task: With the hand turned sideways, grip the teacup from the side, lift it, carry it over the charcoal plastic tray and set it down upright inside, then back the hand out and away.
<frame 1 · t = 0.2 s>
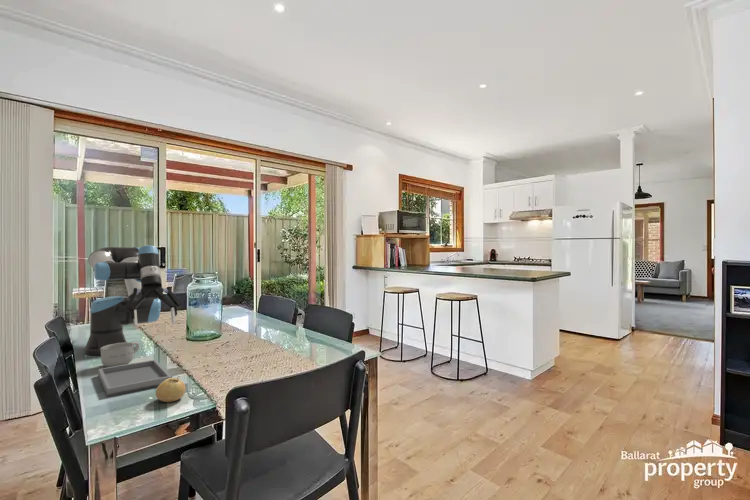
hand: (155, 324, 151), 15 cm above the table, tool tilted 35°, fingers open, 13 cm apart
onion: (170, 400, 114), on the table
tray: (134, 379, 130), on the table
teacup: (121, 365, 145), on the table
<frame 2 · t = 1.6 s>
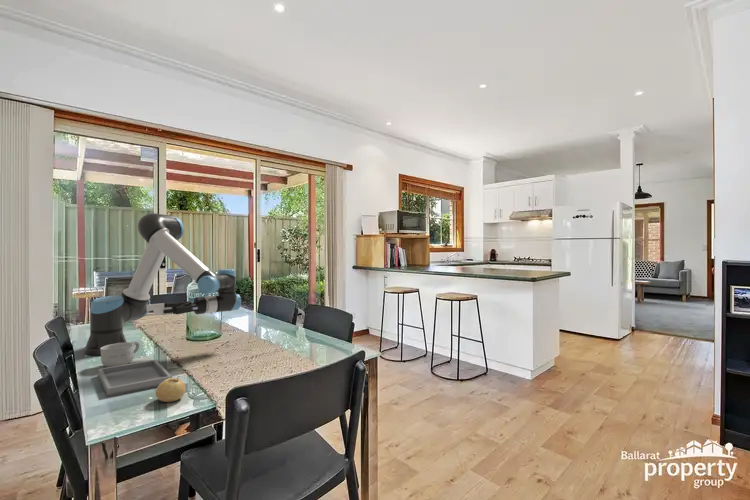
hand: (149, 310, 152), 20 cm above the table, tool horizontal, fingers open, 13 cm apart
nothing on the table moved.
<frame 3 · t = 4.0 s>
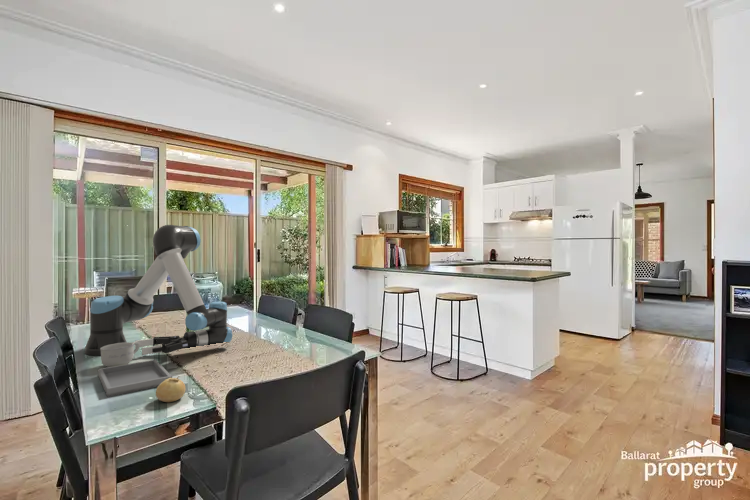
hand: (138, 347, 149), 6 cm above the table, tool horizontal, fingers open, 13 cm apart
nothing on the table moved.
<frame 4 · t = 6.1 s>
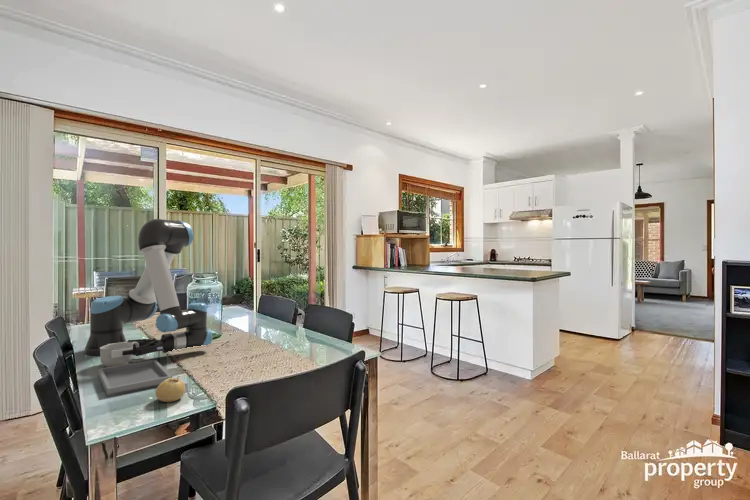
hand: (109, 351, 143), 6 cm above the table, tool horizontal, fingers closed on teacup, 11 cm apart
teacup: (121, 364, 146), on the table, touching gripper
everything else where it was.
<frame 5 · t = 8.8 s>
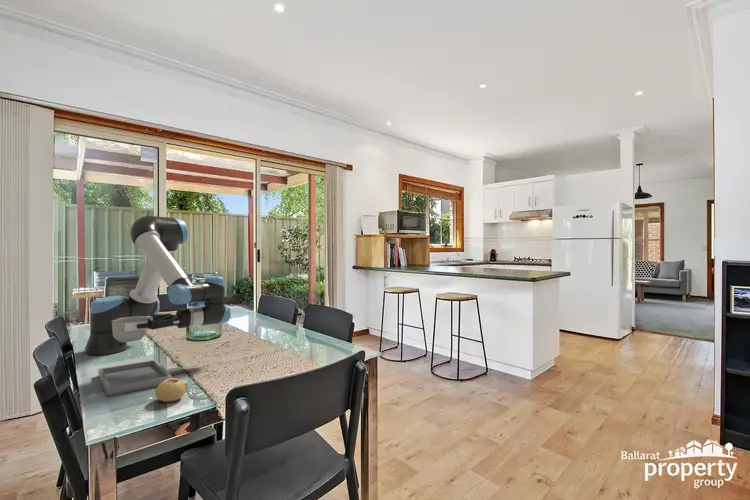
hand: (121, 324, 131), 19 cm above the table, tool horizontal, fingers closed on teacup, 11 cm apart
teacup: (134, 340, 134), point 13 cm above the table, touching gripper
everything else where it was.
when the fingers open (8 cm above the table, at t = 11.7 s): teacup drops 2 cm, resting on tray.
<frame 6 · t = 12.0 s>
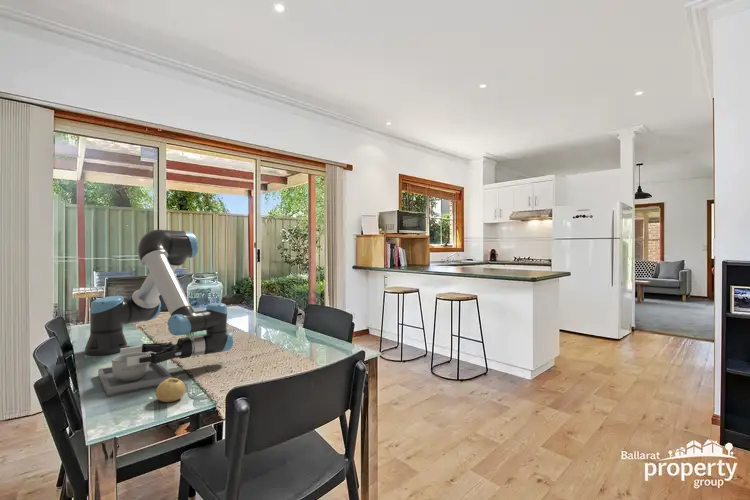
hand: (123, 357, 127), 8 cm above the table, tool horizontal, fingers open, 13 cm apart
teacup: (135, 378, 129), point 1 cm above the table, touching tray
everything else where it was.
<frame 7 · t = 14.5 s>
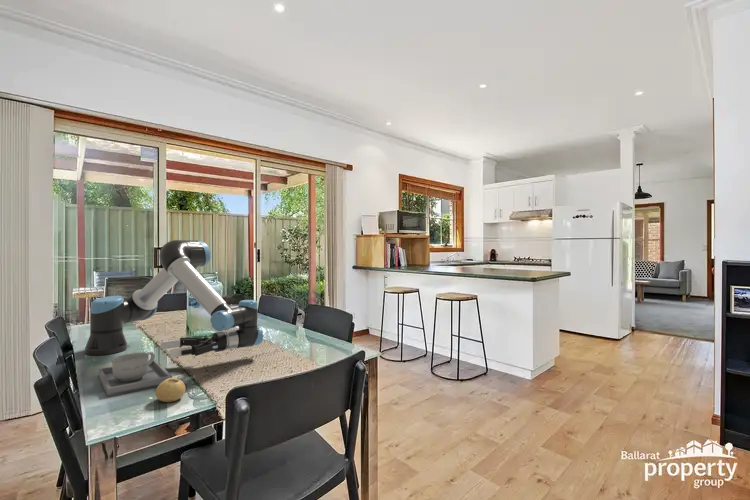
hand: (165, 349, 136), 9 cm above the table, tool horizontal, fingers open, 13 cm apart
nothing on the table moved.
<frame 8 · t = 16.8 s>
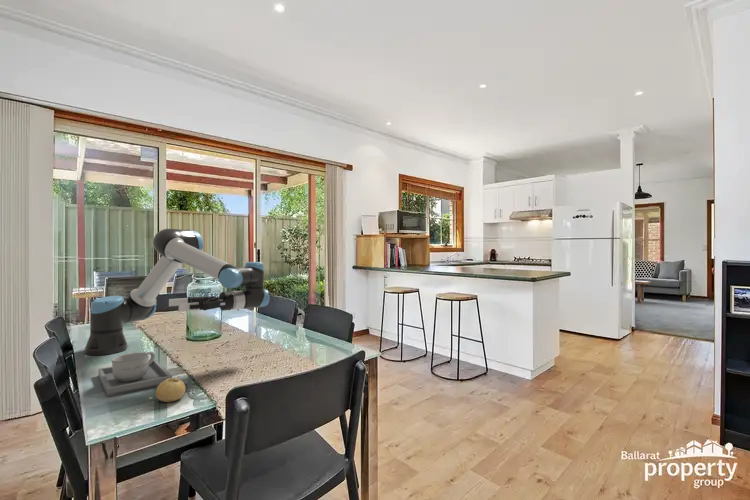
hand: (173, 305, 137), 25 cm above the table, tool horizontal, fingers open, 13 cm apart
nothing on the table moved.
at the end: teacup inside the target area on the tray (0.4 cm from its centre), point 0.6 cm above the tray's base; teacup tilted 0°; the gripper is holding nothing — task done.
